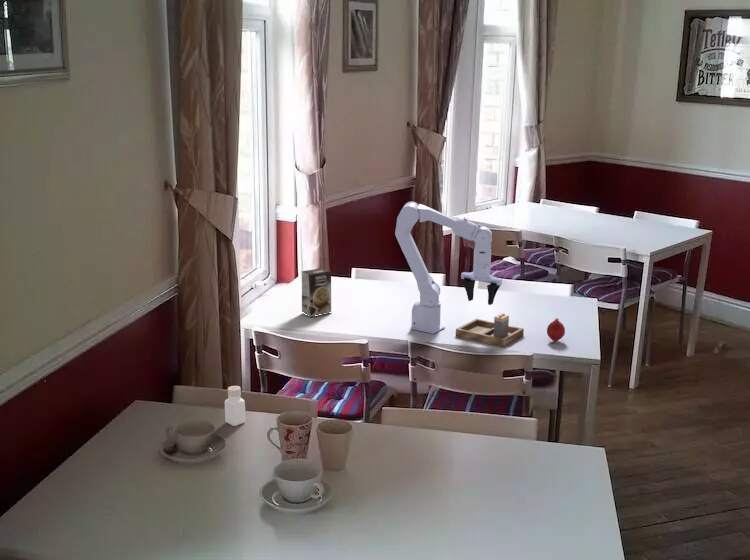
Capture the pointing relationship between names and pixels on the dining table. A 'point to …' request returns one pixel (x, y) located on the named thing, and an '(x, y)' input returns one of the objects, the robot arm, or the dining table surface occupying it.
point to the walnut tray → (488, 333)
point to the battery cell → (501, 325)
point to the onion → (555, 330)
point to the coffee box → (316, 291)
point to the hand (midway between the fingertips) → (480, 302)
